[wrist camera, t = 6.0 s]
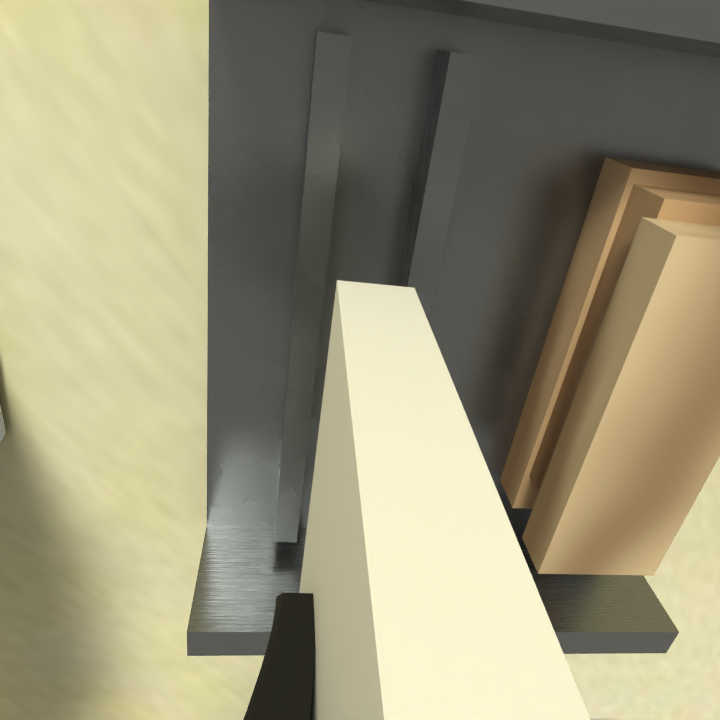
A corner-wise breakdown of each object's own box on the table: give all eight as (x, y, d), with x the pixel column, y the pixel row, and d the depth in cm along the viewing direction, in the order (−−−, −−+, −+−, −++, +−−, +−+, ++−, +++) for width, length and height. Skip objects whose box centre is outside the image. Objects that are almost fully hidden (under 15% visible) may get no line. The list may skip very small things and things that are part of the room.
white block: (290, 665, 17) (274, 1168, 9) (336, 280, 11) (393, 806, 3) (341, 666, 17) (366, 1159, 9) (414, 287, 11) (625, 802, 4)
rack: (210, 524, 23) (187, 655, 18) (216, -80, 14) (169, -143, 9) (596, 534, 26) (665, 653, 21) (828, 28, 16) (1058, 27, 11)
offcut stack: (495, 479, 22) (537, 575, 18) (598, 156, 16) (692, 195, 12) (600, 484, 23) (663, 577, 19) (737, 174, 17) (868, 216, 13)
